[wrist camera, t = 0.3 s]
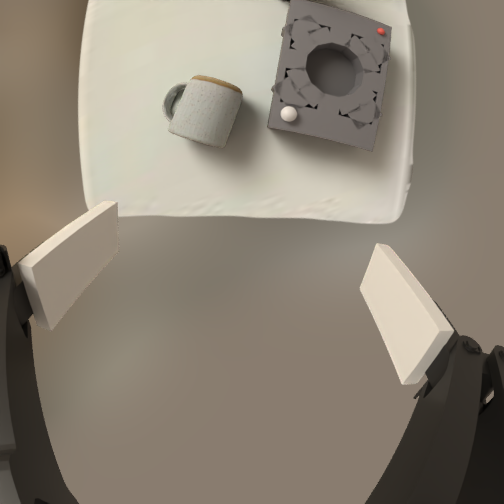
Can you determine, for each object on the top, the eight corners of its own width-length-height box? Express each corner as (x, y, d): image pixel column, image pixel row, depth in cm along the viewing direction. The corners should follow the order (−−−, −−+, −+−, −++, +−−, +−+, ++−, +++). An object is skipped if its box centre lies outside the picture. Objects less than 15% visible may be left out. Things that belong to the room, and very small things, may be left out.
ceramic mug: (248, 93, 33) (243, 85, 26) (228, 146, 37) (218, 151, 30) (177, 74, 32) (157, 64, 25) (159, 126, 35) (136, 128, 28)
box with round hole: (284, 13, 27) (288, -6, 21) (377, 38, 28) (396, 26, 22) (264, 126, 35) (265, 126, 29) (359, 147, 36) (377, 153, 29)
